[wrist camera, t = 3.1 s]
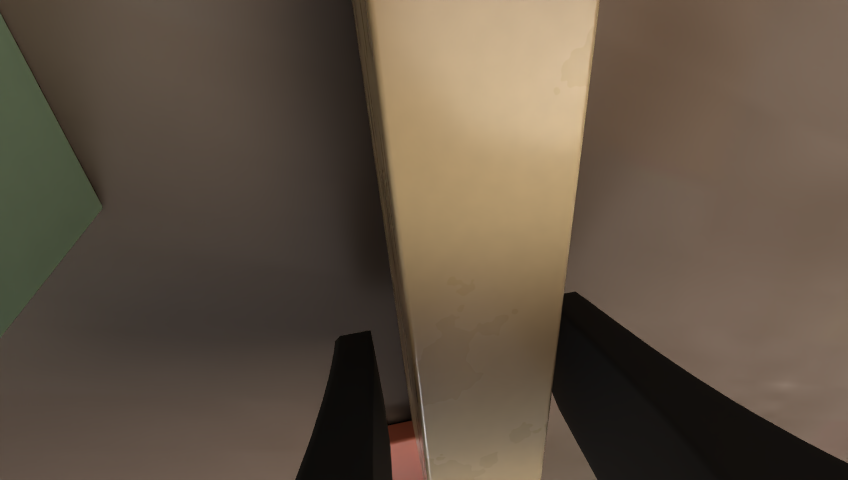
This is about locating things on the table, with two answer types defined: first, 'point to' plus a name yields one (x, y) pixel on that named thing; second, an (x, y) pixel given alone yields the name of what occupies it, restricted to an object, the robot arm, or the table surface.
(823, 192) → the table surface
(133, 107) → the table surface
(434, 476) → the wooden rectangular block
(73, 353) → the table surface
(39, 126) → the tiffin box
